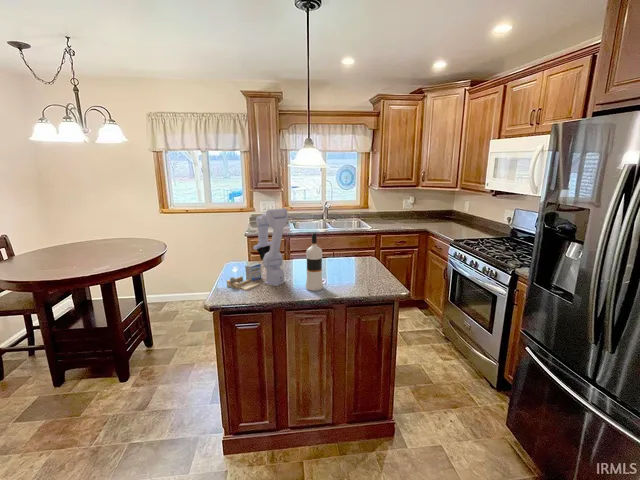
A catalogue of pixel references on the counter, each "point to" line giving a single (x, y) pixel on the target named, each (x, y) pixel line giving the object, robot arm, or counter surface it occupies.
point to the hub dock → (241, 283)
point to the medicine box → (253, 271)
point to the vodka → (314, 266)
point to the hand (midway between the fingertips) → (264, 258)
